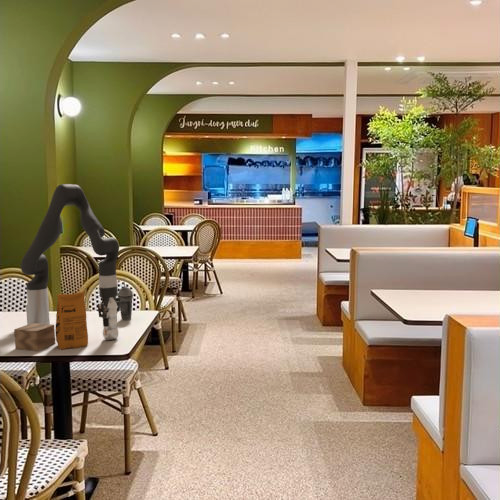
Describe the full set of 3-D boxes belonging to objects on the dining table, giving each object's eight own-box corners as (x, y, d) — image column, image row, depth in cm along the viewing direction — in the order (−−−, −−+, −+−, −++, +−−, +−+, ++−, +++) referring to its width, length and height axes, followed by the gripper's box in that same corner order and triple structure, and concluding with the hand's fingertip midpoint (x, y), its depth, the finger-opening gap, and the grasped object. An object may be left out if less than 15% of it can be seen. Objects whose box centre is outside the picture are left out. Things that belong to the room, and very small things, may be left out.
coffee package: (55, 344, 249) (52, 292, 246) (86, 340, 253) (83, 289, 251) (57, 350, 240) (54, 296, 237) (89, 346, 244) (86, 293, 242)
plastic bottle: (121, 337, 256) (119, 291, 254) (113, 342, 250) (111, 294, 248) (108, 336, 258) (106, 291, 256) (99, 341, 252) (97, 294, 250)
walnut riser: (15, 348, 243) (14, 329, 242) (33, 341, 254) (32, 323, 253) (37, 350, 240) (36, 331, 239) (55, 343, 250) (54, 324, 249)
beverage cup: (121, 321, 286) (119, 280, 283) (117, 318, 292) (115, 277, 289) (135, 319, 289) (134, 278, 286) (131, 316, 295) (129, 276, 293)
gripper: (109, 282, 259) (111, 320, 261) (90, 288, 246) (92, 328, 248) (125, 282, 257) (126, 321, 259) (106, 288, 243) (108, 329, 245)
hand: (110, 324), depth 253 cm, fingers closed on plastic bottle, 5 cm apart
